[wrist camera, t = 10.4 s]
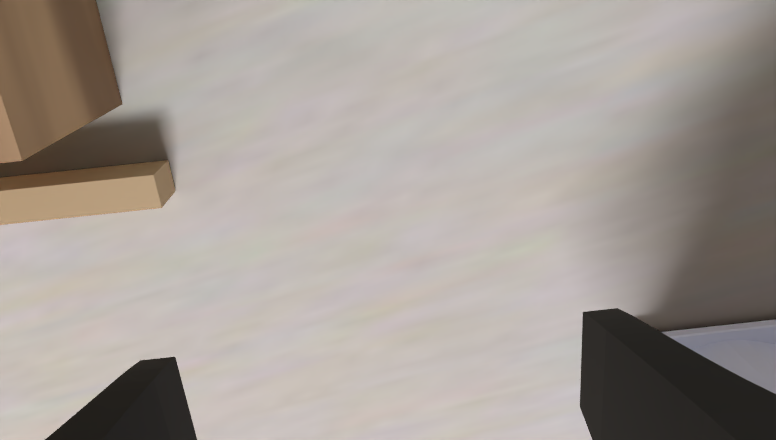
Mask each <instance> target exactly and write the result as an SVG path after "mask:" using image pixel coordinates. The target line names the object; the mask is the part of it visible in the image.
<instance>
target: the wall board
mask: <svg viewBox="0 0 776 440" xmlns="http://www.w3.org/2000/svg"><path fill="white" fill-rule="evenodd" d="M174 192H175V187H174V183H173V178H172V174H171V170H170V166H169V161H168V160H165V161H155V162H145V163H136V164H126V165H117V166H107V167H97V168H88V169H78V170H68V171H59V172H49V173H39V174H30V175H20V176H11V177H1V178H0V225H4V224H13V223H23V222H32V221H42V220H51V219H61V218H70V217H80V216H89V215H99V214H108V213H118V212H127V211H137V210H146V209H156V208H162V207H163V206H164V204H165V203H166V202H167V201H168V199H169V198H170V197H171V196H172V195H173V193H174Z"/></svg>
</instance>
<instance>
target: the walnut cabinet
mask: <svg viewBox="0 0 776 440" xmlns="http://www.w3.org/2000/svg"><path fill="white" fill-rule="evenodd" d="M120 105H122V101H121V97H120V93H119V89H118V85H117V81H116V77H115V74H114V70H113V66H112V62H111V58H110V54H109V50H108V46H107V42H106V38H105V34H104V30H103V27H102V23H101V19H100V15H99V11H98V7H97V3H96V0H0V163H7V162H16V161H23V160H25V159H27V158H28V157H30V156H32V155H34V154H35V153H37V152H39V151H41V150H42V149H44V148H46V147H48V146H49V145H51V144H53V143H55V142H56V141H58V140H60V139H62V138H64V137H65V136H67V135H69V134H71V133H72V132H74V131H76V130H78V129H79V128H81V127H83V126H85V125H86V124H88V123H90V122H92V121H93V120H95V119H97V118H99V117H100V116H102V115H104V114H106V113H108V112H109V111H111V110H113V109H115V108H116V107H118V106H120Z"/></svg>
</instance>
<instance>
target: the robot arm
mask: <svg viewBox="0 0 776 440" xmlns="http://www.w3.org/2000/svg"><path fill="white" fill-rule="evenodd" d="M580 408H581V410H582V413H583V416H584V418H585V421H586V424H587V426H588V429H589V432H590V434H591V437H592V439H593V440H776V319H775V320H766V321H757V322H748V323H739V324H730V325H721V326H712V327H703V328H694V329H685V330H676V331H667V332H660V331H658V330H656V329H655V328H653V327H651V326H649V325H648V324H646V323H644V322H642V321H641V320H639V319H637V318H635V317H633V316H632V315H630V314H628V313H626V312H624V311H622V310H620V309H618V308H616V309H607V310H598V311H589V312H583V329H582V360H581V391H580ZM45 440H197V438H196V434H195V430H194V427H193V423H192V419H191V415H190V411H189V408H188V404H187V400H186V396H185V392H184V389H183V385H182V381H181V377H180V373H179V370H178V366H177V362H176V358H175V357H169V358H160V359H151V360H141V361H139V362H138V363H136V364H135V365H134V366H132V367H131V368H130V369H128V370H127V371H126V372H125V373H123V374H122V375H121V376H120V377H119V378H117V379H116V380H115V381H114V382H113V383H111V384H110V385H109V386H108V387H107V388H106V389H104V390H103V391H102V392H101V393H100V394H99V395H97V396H96V397H95V398H94V399H93V400H92V401H90V402H89V403H88V404H87V405H86V406H85V407H83V408H82V409H81V410H80V411H79V412H77V413H76V414H75V415H74V416H73V417H72V418H70V419H69V420H68V421H67V422H66V423H64V424H63V425H62V426H61V427H60V428H59V429H57V430H56V431H55V432H54V433H53V434H51V435H50V436H49V437H48V438H47V439H45Z"/></svg>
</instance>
